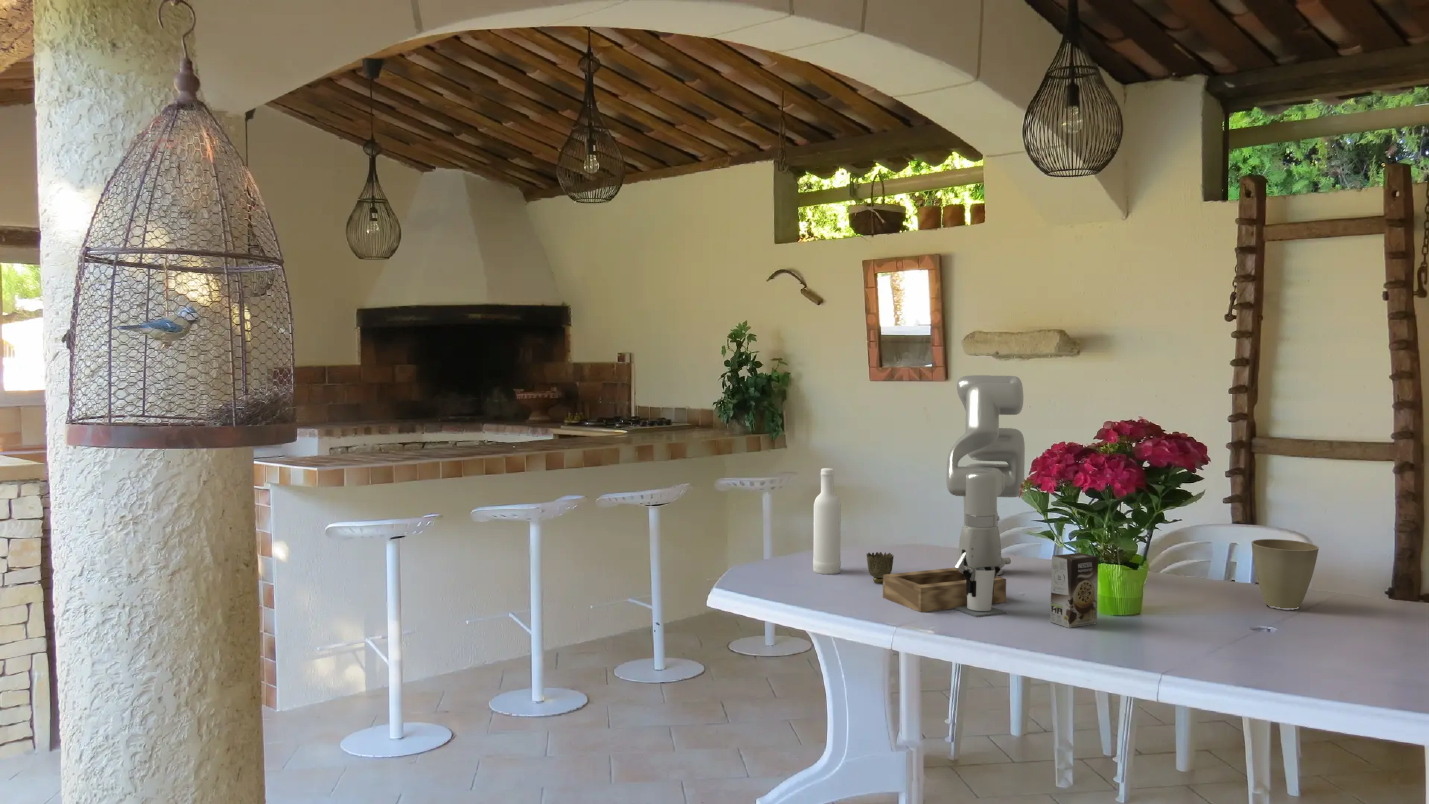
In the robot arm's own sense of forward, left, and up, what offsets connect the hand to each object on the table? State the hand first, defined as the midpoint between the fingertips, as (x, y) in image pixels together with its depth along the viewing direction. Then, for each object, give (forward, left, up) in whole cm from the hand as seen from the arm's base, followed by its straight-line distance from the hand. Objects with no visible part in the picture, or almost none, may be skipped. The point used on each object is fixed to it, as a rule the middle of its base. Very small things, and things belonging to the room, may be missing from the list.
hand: (980, 594), depth 268 cm
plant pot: (-72, +28, -4) cm, 77 cm away
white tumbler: (0, 0, -4) cm, 4 cm away
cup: (+5, -37, -4) cm, 38 cm away
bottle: (+11, -56, -4) cm, 58 cm away
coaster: (0, 0, -4) cm, 4 cm away
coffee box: (-13, +19, -4) cm, 23 cm away
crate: (+1, -13, -4) cm, 14 cm away
